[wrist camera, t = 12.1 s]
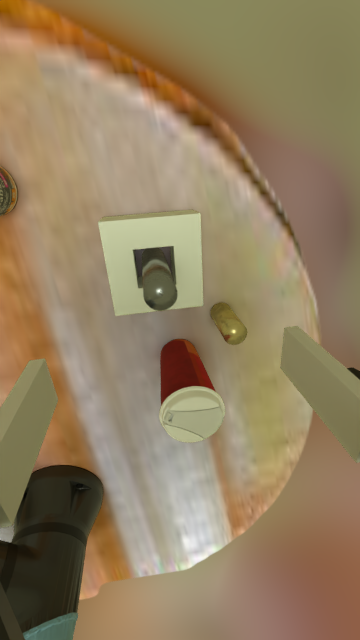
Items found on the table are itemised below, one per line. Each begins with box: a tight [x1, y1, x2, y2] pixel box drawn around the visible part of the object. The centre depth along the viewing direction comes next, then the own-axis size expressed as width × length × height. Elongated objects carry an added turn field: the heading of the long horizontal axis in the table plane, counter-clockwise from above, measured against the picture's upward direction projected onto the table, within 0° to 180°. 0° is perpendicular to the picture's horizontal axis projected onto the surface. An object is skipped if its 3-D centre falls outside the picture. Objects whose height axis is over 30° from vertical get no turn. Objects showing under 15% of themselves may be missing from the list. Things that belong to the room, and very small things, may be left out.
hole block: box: [98, 210, 203, 316], centre depth 35 cm, size 11×11×5 cm
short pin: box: [211, 303, 247, 345], centre depth 39 cm, size 3×3×7 cm
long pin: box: [142, 247, 178, 311], centre depth 31 cm, size 3×3×14 cm
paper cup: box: [159, 339, 225, 443], centre depth 38 cm, size 8×8×14 cm
